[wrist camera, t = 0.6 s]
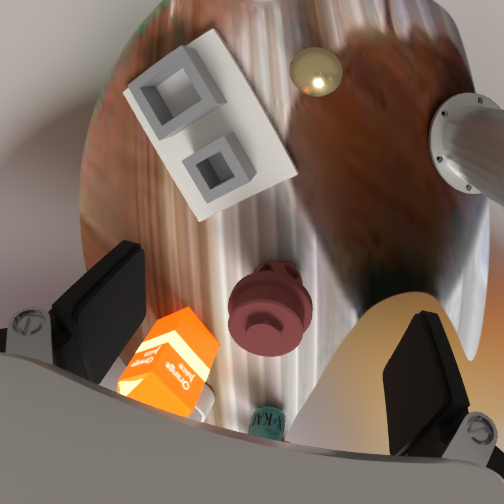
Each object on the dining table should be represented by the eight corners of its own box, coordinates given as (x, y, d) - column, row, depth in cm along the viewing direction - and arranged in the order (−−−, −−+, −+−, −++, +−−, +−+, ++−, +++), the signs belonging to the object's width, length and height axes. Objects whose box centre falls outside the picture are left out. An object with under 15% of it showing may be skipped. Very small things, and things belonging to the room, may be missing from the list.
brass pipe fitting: (323, 54, 31) (326, 39, 22) (342, 87, 32) (351, 83, 23) (289, 70, 32) (280, 60, 24) (308, 103, 34) (305, 104, 25)
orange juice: (188, 305, 50) (133, 403, 33) (220, 344, 53) (181, 444, 35) (156, 320, 53) (99, 407, 36) (187, 355, 56) (143, 445, 39)
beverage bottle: (283, 420, 60) (267, 505, 43) (252, 413, 61) (229, 498, 43) (290, 403, 57) (274, 495, 40) (256, 396, 58) (233, 487, 40)
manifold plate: (217, 30, 31) (201, 21, 26) (298, 171, 38) (295, 183, 33) (128, 92, 36) (104, 94, 32) (203, 217, 43) (188, 234, 38)
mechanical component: (228, 278, 46) (272, 230, 42) (282, 318, 48) (329, 276, 43) (201, 334, 36) (254, 280, 31) (270, 379, 37) (330, 336, 32)
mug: (205, 409, 64) (197, 431, 58) (165, 389, 63) (154, 410, 58) (228, 384, 58) (220, 409, 53) (183, 361, 57) (171, 384, 52)
